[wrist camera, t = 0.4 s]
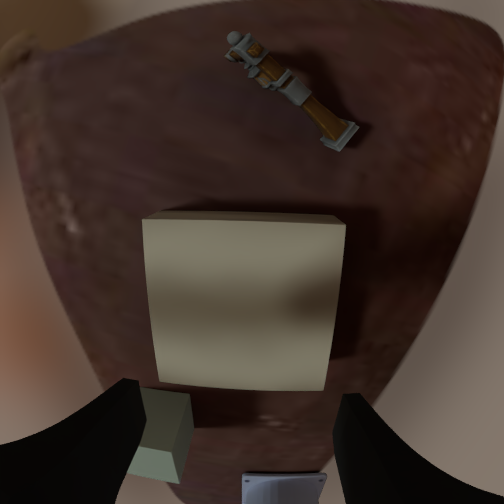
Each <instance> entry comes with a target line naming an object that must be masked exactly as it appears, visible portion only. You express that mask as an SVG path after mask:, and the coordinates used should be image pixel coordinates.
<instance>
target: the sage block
mask: <svg viewBox="0 0 504 504" xmlns="http://www.w3.org/2000/svg"><path fill="white" fill-rule="evenodd" d="M140 391H141V395H142V400H143V404H144V409H145V413H146V417H147V421H146V425H145V429H144V432H143V436H142V439H141V442H140V444H139V447H138V449H137V451H136V453H135V456H134V458H133V460H132V462H131V464H130V467H129V469H128V471H127V473H130V474H134V475H139V476H143V477H148V478H152V479H157V480H162V481H167V482H173V483H179V484H180V480H181V476H182V473H183V469H184V465H185V461H186V457H187V454H188V450H189V446H190V442H191V438H192V435H193V431H194V423H193V415H192V408H191V400H190V394H187V393H178V392H170V391H163V390H156V389H150V388H143V387H140Z"/></svg>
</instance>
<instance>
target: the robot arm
mask: <svg viewBox="0 0 504 504" xmlns="http://www.w3.org/2000/svg"><path fill="white" fill-rule="evenodd" d="M146 421H147V417H146V413H145V409H144V404H143V400H142V395H141V391H140V386H139V381H138V380H132V379H126V378H123V379H121V380H120V381H118V382H117V383H116V384H114V385H113V386H112V387H110V388H109V389H108V390H106V391H105V392H104V393H102V394H101V395H100V396H98V397H97V398H96V399H94V400H93V401H91V402H90V403H89V404H87V405H86V406H84V407H83V408H81V409H80V410H78V411H77V412H75V413H73V414H72V415H70V416H69V417H67V418H65V419H64V420H62V421H61V422H59V423H57V424H55V425H53V426H51V427H49V428H47V429H45V430H43V431H41V432H38V433H36V434H33V435H31V436H28V437H25V438H23V439H20V440H17V441H13V442H10V443H6V444H2V445H0V504H115V501H116V498H117V495H118V492H119V489H120V487H121V484H122V482H123V480H124V478H125V475H126V473H127V471H128V469H129V467H130V464H131V462H132V460H133V458H134V456H135V453H136V451H137V449H138V447H139V444H140V442H141V439H142V436H143V432H144V429H145V425H146ZM332 433H333V444H334V453H335V459H336V463H337V467H338V472H339V476H340V480H341V484H342V488H343V493H344V497H345V502H346V504H504V497H503V496H500V495H496V494H493V493H490V492H487V491H484V490H481V489H478V488H476V487H473V486H471V485H469V484H466V483H464V482H462V481H460V480H458V479H456V478H454V477H452V476H451V475H449V474H447V473H446V472H444V471H442V470H440V469H439V468H437V467H436V466H434V465H433V464H431V463H430V462H429V461H427V460H426V459H425V458H423V457H422V456H420V455H419V454H418V453H417V452H416V451H414V450H413V449H412V448H411V447H410V446H409V445H407V444H406V443H405V442H404V441H403V440H402V439H401V438H400V437H399V436H398V435H397V434H396V433H395V432H394V431H393V430H392V429H391V428H390V427H389V426H388V425H387V424H386V423H385V422H384V420H383V419H382V418H381V417H380V416H379V415H378V414H377V413H376V412H375V410H374V409H373V408H372V407H371V406H370V405H369V403H368V402H367V401H366V400H365V399H364V398H363V396H362V395H361V394H360V393H352V394H343V396H342V400H341V404H340V407H339V411H338V415H337V418H336V422H335V425H334V429H333V432H332ZM326 479H327V474H326V473H306V474H257V473H245V474H243V475H242V504H319V502H318V499H319V497H320V494H321V491H322V489H323V486H324V484H325V481H326Z"/></svg>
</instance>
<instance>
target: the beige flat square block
mask: <svg viewBox="0 0 504 504" xmlns="http://www.w3.org/2000/svg"><path fill="white" fill-rule="evenodd" d="M142 224H143V242H144V257H145V270H146V282H147V292H148V302H149V311H150V319H151V327H152V335H153V342H154V349H155V356H156V362H157V369H158V375H159V380H160V382H167V383H175V384H184V385H193V386H203V387H215V388H228V389H245V390H270V391H323V389H324V384H325V378H326V373H327V367H328V362H329V356H330V350H331V344H332V338H333V332H334V325H335V318H336V311H337V304H338V296H339V288H340V280H341V271H342V262H343V253H344V242H345V231H346V225H345V224H344V223H343V222H341V221H340V220H339V219H338V218H336V217H335V216H334V215H317V214H295V213H269V212H234V211H159V212H157V213H155V214H153V215H150V216H148V217H146V218H144V219H142Z"/></svg>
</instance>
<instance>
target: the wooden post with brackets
mask: <svg viewBox="0 0 504 504" xmlns="http://www.w3.org/2000/svg"><path fill="white" fill-rule="evenodd" d="M227 40H228V42H229V43H230V44H231V45H234V46H233V47H232V48H231V49H230V50H229V51H228V52H227V53H226V54H225V55H224V57H225V58H226V59H228V60H229V61H230V62H231V61H232V62H240V63H245V67H244V69H246V68H248V70H250V72H249V75H248V78H254V79H255V80H256V81H257V82H258V83H259V84H261V86H262V88H269V89H270V90H273V91H275V90H278V91H279V92H281V93H282V94H283V95H285V96H286V97H287V98H288V99H289V100H290V101H291V103H292V104H295V105H298V106H299V107H300V108H301V109H302V110H303V111H304V112H305V113H306V114H307V115H308V116H309V117H310V118H311V120H312V121H313V122H314V123H315V124H316V126H317V127H318V128H319V129H320V131H321V132H322V134H323V137H322V138H321V139H320V140H321V141H322V142H323V143H324V145H326V146H328V147H330V148H333V149H335V150H337V151H339V152H340V150H341V149H342V148H343V147H344V145H345V144H346V143H347V142H348V141H349V139H350V138H351V137H352V136H353V134H354V133H355V132H356V131H357V130H358V128H359V126H357V125H356V124H355V123H354V122H350V121H347V120H343V119H340V118H338V117H337V116H335V115H334V114H333V113H332V112H330V111H329V110H328V109H327V108H325V107H324V106H323V105H322V104H320V103H319V102H318V101H317V100H316V99H315V98H314V97H313V96H312V95H311V93H312V91H310V90H309V89H307V88H306V87H305V86H304V85H303V84H302V83H301V82H300V80H299V79H298V77H297V76H291V74H292V73H293V72H291V71H290V70H289V69H284V68H283V67H282V66H280V65H279V64H278V63H277V62H276V61H275V60H274V59H273V58H272V57H271V56H269V55H268V54H267V53H268V52H269V50H267V49H266V48H264V47H263V46H262V45H261V44H260V43H259V42H258V41H256V40H255V39H254V38H253V37H252V36H251V34H250V33H249V34H246V35H243V36H242V34H241V33H239V32H237V31H233V32H231V33H229V35H228V36H227ZM240 59H241V60H243V62H241V61H239V60H240Z"/></svg>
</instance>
